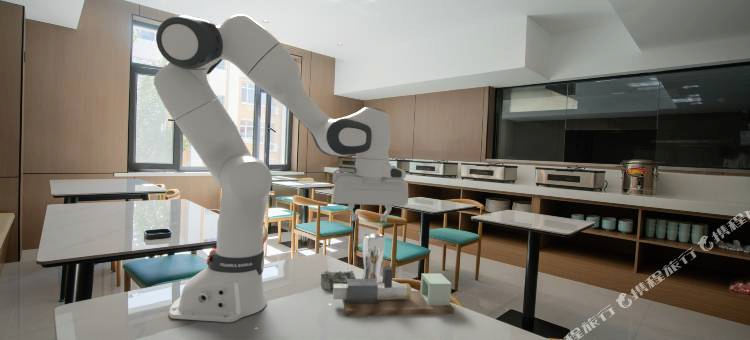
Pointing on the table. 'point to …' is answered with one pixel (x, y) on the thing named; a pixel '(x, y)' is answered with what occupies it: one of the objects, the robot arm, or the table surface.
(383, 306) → the base board
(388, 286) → the light grey bar piece
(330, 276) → the egg carton
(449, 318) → the table surface
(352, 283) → the sleeve
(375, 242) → the beer glass
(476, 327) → the table surface
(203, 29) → the robot arm
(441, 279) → the socket
